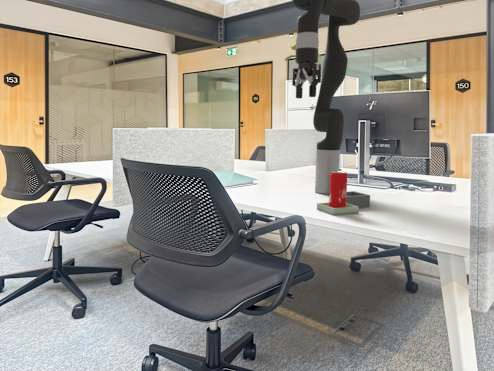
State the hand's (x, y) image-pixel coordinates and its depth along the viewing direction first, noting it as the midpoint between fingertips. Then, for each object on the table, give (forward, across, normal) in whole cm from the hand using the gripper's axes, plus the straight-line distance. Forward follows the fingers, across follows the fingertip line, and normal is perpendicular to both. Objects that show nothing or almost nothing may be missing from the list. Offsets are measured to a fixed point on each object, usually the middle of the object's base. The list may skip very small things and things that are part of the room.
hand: (305, 97), depth 140 cm
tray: (+36, -18, -2) cm, 40 cm away
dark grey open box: (+36, -12, -12) cm, 40 cm away
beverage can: (+36, -18, -2) cm, 40 cm away
